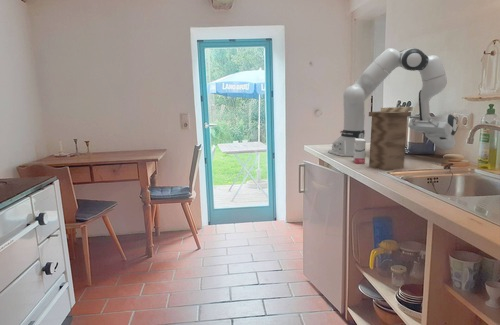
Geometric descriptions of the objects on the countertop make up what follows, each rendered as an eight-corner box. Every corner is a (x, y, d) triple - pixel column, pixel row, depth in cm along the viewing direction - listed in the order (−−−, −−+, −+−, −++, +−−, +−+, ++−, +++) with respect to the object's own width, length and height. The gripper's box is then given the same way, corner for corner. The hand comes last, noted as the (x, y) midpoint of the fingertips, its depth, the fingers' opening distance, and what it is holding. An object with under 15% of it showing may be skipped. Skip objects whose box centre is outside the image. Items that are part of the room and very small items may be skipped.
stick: (384, 112, 158) (384, 107, 158) (380, 112, 160) (380, 107, 159) (412, 111, 168) (412, 106, 167) (408, 110, 170) (409, 106, 169)
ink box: (364, 163, 175) (366, 140, 173) (354, 163, 176) (355, 140, 174) (363, 160, 183) (364, 138, 181) (353, 160, 184) (354, 138, 182)
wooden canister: (365, 166, 168) (368, 111, 163) (385, 163, 175) (389, 111, 170) (386, 171, 158) (390, 112, 153) (406, 167, 165) (411, 111, 160)
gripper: (418, 125, 190) (405, 113, 183) (456, 127, 173) (443, 114, 166) (414, 135, 190) (400, 124, 183) (451, 139, 172) (438, 126, 165)
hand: (421, 119), depth 174 cm, fingers open, 8 cm apart
